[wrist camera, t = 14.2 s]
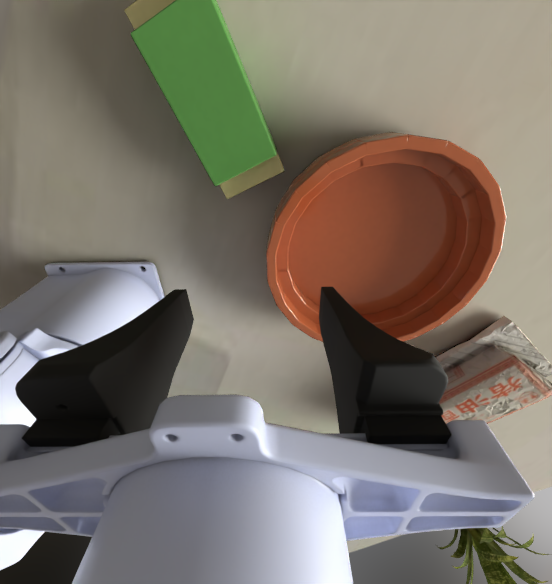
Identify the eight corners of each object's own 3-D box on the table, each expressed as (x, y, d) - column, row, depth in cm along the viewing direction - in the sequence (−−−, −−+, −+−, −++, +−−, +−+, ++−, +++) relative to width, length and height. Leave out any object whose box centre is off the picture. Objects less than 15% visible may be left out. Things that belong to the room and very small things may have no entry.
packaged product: (421, 467, 33) (368, 437, 30) (405, 428, 37) (358, 398, 34) (588, 398, 26) (544, 348, 22) (546, 359, 30) (503, 311, 26)
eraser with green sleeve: (230, 193, 20) (224, 204, 18) (137, 18, 15) (111, 1, 13) (284, 167, 19) (285, 174, 17) (203, -31, 14) (189, -59, 12)
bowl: (271, 324, 27) (270, 349, 24) (264, 134, 18) (261, 137, 15) (436, 323, 27) (455, 348, 24) (512, 128, 18) (558, 131, 15)
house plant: (522, 467, 43) (636, 632, 29) (449, 498, 49) (514, 645, 36) (464, 441, 39) (564, 618, 25) (392, 478, 45) (442, 635, 32)
